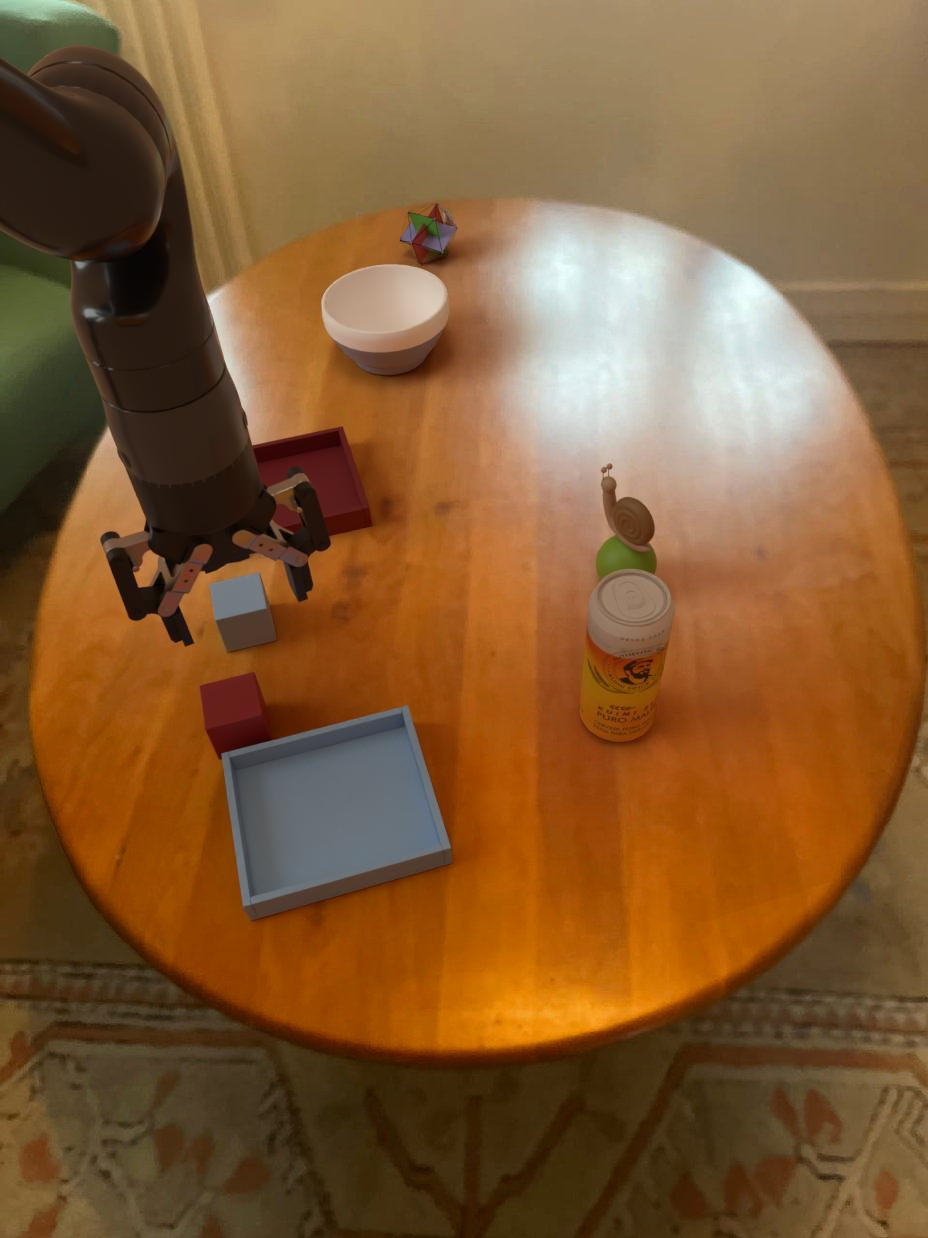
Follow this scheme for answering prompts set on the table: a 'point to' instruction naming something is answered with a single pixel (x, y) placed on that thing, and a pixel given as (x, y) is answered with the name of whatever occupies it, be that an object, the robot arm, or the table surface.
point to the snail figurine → (625, 533)
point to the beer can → (625, 653)
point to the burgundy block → (235, 713)
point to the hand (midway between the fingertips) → (243, 615)
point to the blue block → (242, 612)
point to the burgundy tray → (317, 478)
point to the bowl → (386, 316)
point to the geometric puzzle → (429, 232)
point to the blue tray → (332, 812)
